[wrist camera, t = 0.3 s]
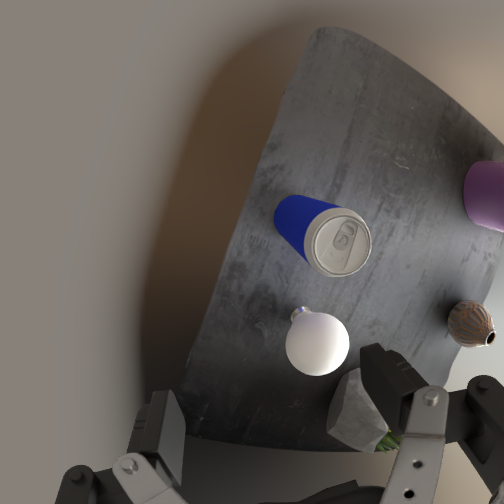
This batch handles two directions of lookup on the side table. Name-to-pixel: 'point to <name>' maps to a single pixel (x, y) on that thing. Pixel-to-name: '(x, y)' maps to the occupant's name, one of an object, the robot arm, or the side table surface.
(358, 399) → the potted plant
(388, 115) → the side table surface
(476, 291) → the side table surface
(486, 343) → the vase
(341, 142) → the side table surface
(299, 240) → the beverage can
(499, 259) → the side table surface
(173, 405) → the robot arm
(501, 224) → the jar
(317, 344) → the light bulb
